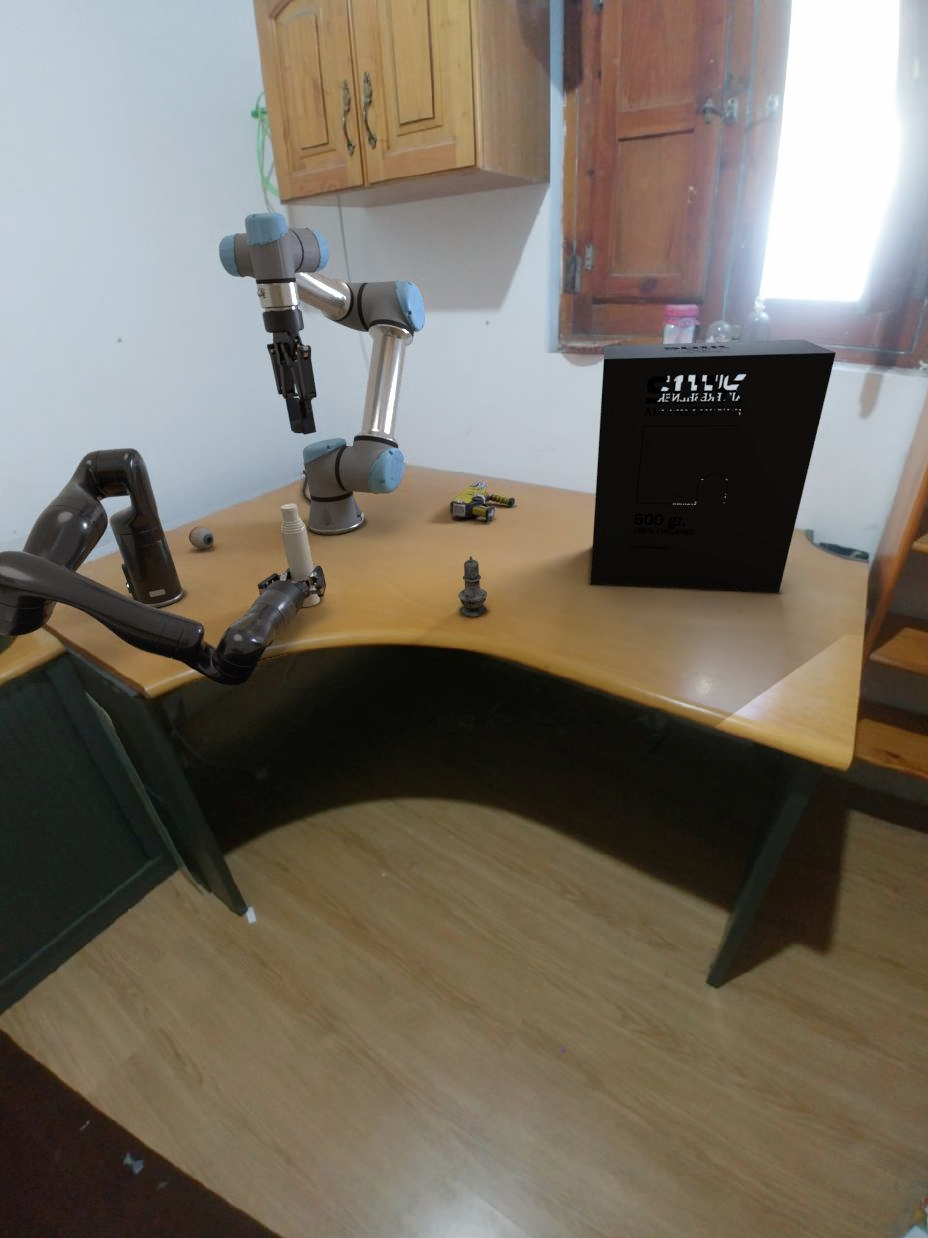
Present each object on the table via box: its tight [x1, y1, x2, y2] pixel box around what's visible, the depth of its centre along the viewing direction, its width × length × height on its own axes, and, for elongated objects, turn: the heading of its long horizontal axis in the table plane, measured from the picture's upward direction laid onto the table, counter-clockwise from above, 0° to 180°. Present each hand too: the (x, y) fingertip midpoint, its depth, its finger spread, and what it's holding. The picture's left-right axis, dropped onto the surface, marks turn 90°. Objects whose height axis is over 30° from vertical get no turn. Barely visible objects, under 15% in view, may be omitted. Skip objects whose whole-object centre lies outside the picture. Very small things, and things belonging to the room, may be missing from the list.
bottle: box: [280, 503, 321, 608], centre depth 125 cm, size 5×5×22 cm
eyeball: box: [188, 525, 215, 550], centre depth 158 cm, size 6×6×6 cm
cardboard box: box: [590, 338, 837, 594], centre depth 124 cm, size 38×20×45 cm, turn 78°
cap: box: [292, 419, 303, 434], centre depth 128 cm, size 4×4×2 cm
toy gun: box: [449, 480, 516, 522], centre depth 174 cm, size 5×24×15 cm
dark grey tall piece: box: [457, 555, 488, 617], centre depth 120 cm, size 6×6×12 cm
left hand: (307, 569), depth 129 cm, fingers closed on bottle, 5 cm apart
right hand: (303, 431), depth 129 cm, fingers closed on cap, 4 cm apart
